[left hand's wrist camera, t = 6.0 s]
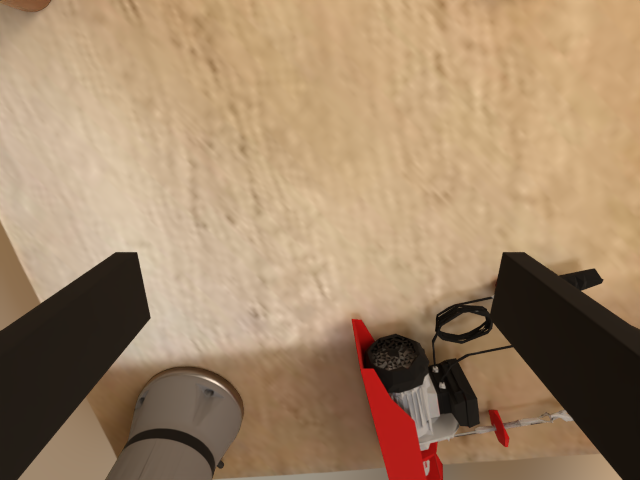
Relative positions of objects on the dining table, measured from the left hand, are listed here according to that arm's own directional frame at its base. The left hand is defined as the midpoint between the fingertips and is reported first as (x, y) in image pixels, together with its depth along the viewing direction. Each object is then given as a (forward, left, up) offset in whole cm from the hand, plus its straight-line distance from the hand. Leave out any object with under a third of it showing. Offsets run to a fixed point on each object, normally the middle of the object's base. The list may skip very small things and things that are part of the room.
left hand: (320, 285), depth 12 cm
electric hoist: (+28, +22, -28) cm, 45 cm away
